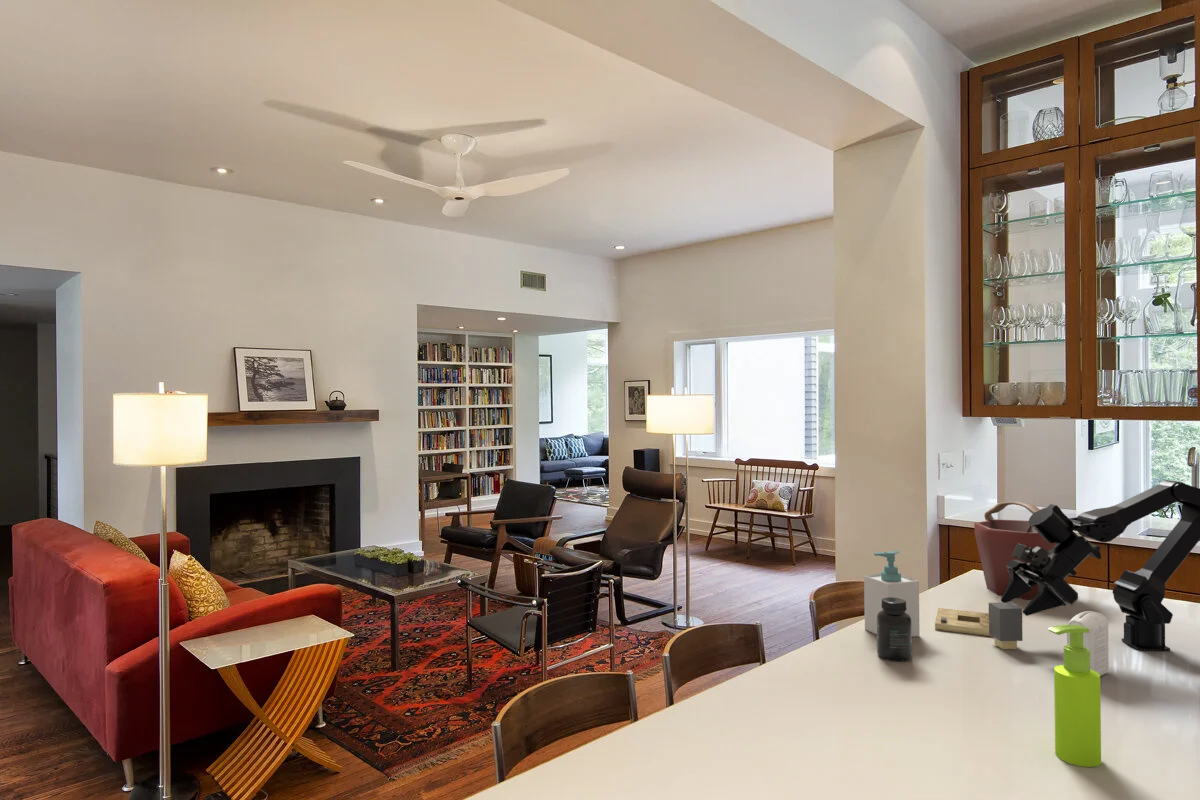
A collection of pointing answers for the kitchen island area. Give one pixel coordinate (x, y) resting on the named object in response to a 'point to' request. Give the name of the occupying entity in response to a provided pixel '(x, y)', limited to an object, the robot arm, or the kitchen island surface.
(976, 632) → the socket
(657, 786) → the kitchen island surface
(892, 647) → the supplement bottle
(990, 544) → the bucket
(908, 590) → the soap bottle
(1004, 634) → the plug
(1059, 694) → the soap dispenser
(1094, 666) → the photo printer
